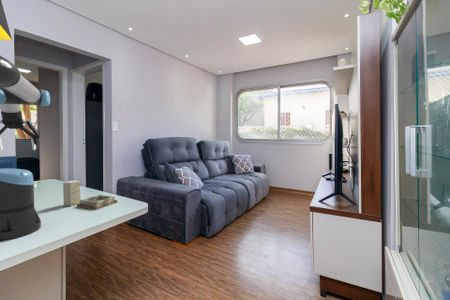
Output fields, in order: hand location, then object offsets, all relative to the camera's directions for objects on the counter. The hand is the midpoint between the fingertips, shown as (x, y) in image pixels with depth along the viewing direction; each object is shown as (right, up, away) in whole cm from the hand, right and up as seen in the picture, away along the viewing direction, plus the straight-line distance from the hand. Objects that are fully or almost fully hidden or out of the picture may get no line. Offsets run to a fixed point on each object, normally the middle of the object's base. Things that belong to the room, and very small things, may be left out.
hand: (18, 149), depth 117 cm
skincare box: (+32, -29, -4) cm, 43 cm away
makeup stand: (+45, -29, -3) cm, 53 cm away
